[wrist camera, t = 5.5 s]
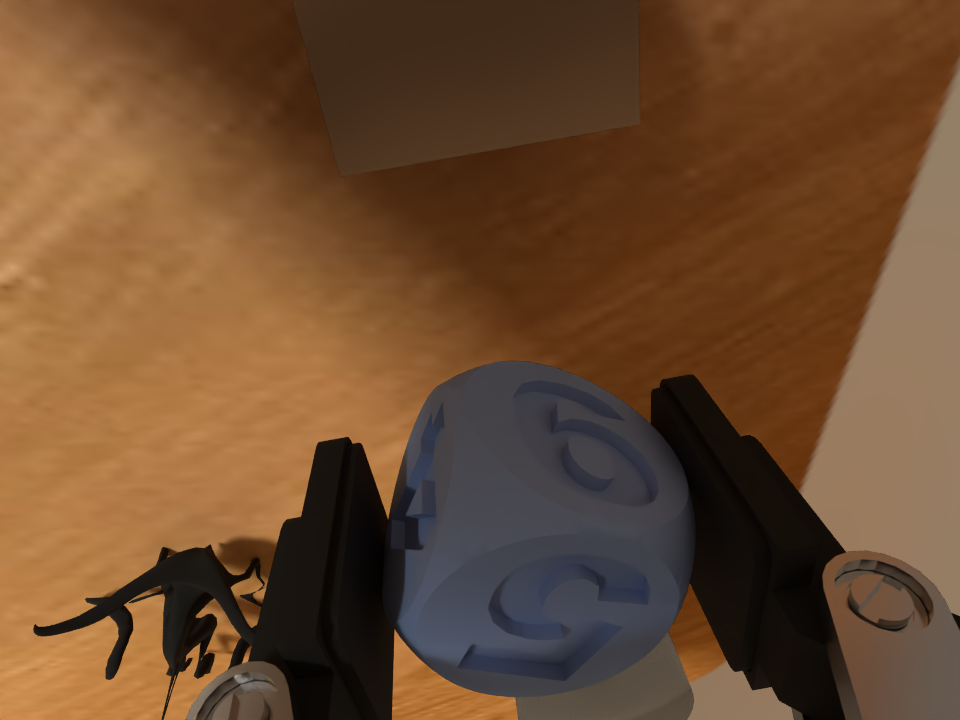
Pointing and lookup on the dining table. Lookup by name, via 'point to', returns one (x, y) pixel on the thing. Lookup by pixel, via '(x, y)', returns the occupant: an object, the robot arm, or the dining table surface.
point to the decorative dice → (535, 533)
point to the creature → (175, 610)
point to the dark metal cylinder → (623, 693)
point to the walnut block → (467, 74)
